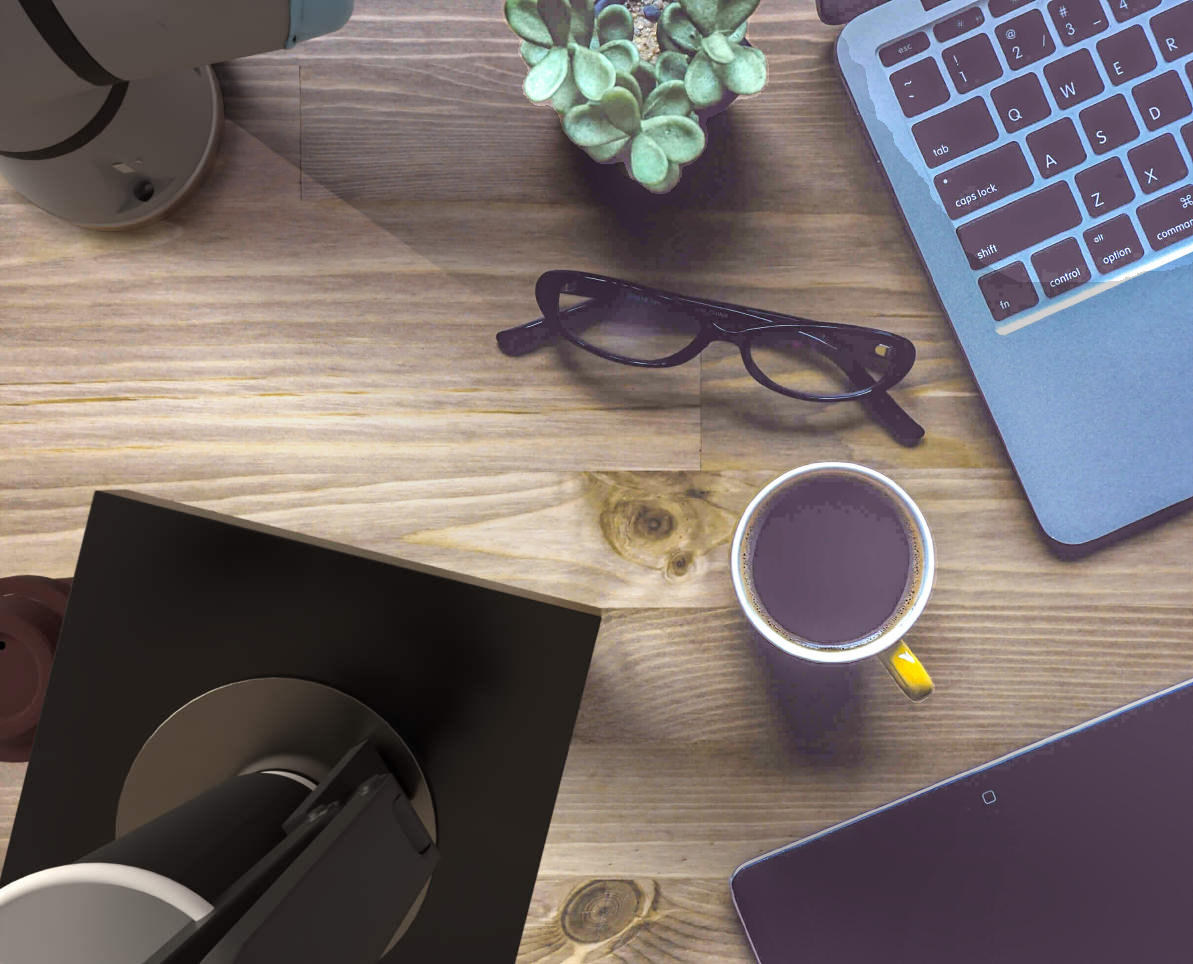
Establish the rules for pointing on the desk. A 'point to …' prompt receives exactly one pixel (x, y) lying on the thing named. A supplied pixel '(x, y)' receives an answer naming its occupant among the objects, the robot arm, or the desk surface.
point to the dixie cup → (148, 877)
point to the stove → (307, 700)
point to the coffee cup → (27, 655)
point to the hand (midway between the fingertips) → (271, 843)
